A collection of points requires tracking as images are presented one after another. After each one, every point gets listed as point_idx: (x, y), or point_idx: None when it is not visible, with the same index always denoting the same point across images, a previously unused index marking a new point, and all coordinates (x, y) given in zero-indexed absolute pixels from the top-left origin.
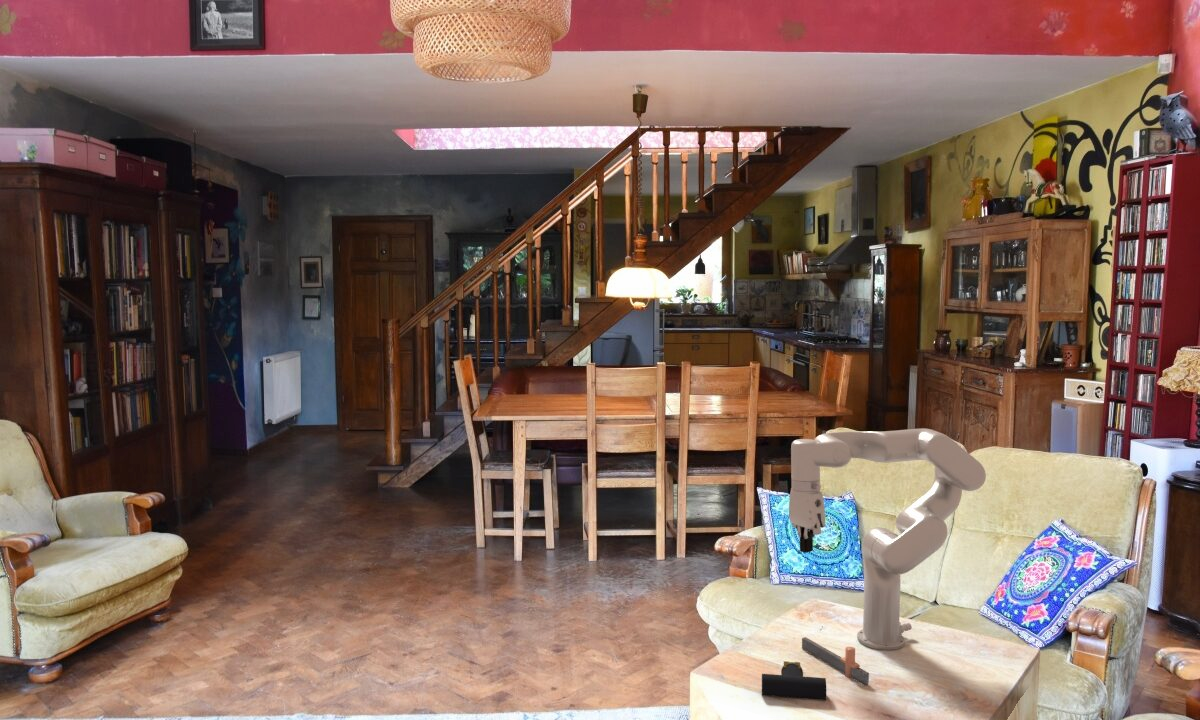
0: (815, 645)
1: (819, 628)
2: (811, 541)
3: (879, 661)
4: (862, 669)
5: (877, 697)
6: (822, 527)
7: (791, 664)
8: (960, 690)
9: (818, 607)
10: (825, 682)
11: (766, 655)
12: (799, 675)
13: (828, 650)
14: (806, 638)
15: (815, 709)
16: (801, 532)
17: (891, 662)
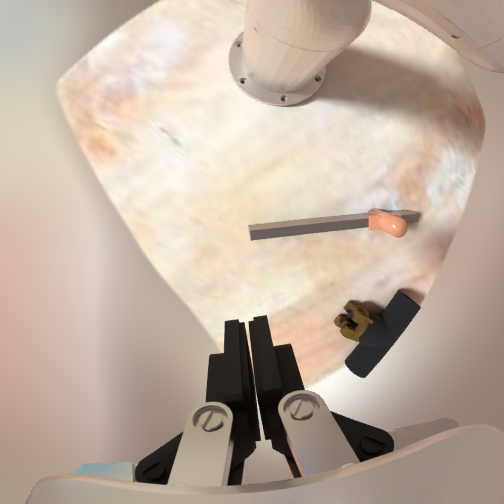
0: (295, 234)
1: (171, 141)
2: (301, 384)
3: (353, 129)
4: (406, 214)
5: (433, 224)
6: (455, 432)
7: (362, 332)
8: (453, 104)
9: (81, 93)
10: (419, 308)
11: (251, 309)
12: (386, 331)
13: (325, 223)
14: (257, 233)
15: None
16: (243, 473)
17: (363, 113)
